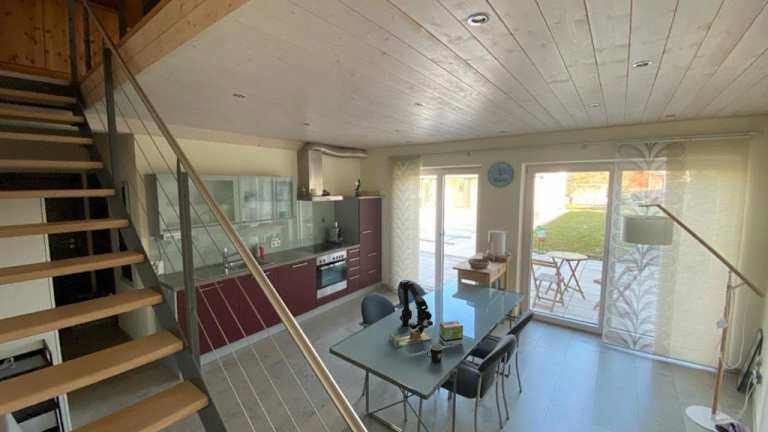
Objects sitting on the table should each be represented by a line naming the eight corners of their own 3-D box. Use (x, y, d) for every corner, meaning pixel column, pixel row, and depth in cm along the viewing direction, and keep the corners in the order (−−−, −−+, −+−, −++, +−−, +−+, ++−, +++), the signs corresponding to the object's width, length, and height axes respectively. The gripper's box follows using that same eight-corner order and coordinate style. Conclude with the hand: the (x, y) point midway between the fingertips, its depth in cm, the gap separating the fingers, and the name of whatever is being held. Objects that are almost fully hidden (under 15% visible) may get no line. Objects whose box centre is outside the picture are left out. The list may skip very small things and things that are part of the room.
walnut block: (409, 336, 254) (409, 330, 254) (416, 334, 257) (416, 328, 256) (413, 339, 249) (413, 333, 248) (420, 338, 251) (420, 331, 251)
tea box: (444, 347, 241) (445, 327, 239) (439, 340, 250) (439, 322, 249) (463, 344, 245) (463, 325, 243) (456, 337, 254) (456, 319, 253)
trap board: (389, 339, 253) (389, 333, 253) (421, 332, 264) (421, 326, 263) (397, 348, 239) (397, 341, 239) (430, 340, 250) (430, 334, 249)
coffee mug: (441, 357, 227) (441, 343, 226) (443, 364, 218) (444, 349, 217) (424, 357, 226) (424, 343, 225) (426, 364, 218) (426, 350, 217)
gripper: (415, 321, 242) (415, 341, 244) (436, 317, 249) (436, 336, 251) (408, 316, 252) (408, 335, 254) (429, 312, 259) (429, 330, 261)
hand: (421, 334), depth 255 cm, fingers closed
